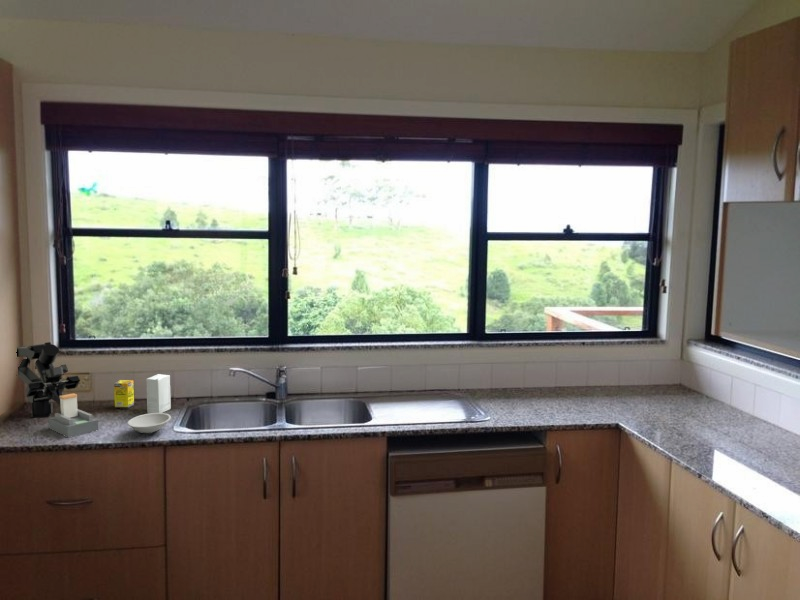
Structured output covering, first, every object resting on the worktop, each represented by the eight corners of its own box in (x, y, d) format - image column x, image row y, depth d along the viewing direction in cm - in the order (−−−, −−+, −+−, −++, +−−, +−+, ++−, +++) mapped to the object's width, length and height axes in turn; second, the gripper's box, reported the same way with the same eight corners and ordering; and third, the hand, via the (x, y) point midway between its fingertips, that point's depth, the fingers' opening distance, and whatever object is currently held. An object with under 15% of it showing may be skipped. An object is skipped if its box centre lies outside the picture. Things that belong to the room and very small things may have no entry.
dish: (158, 441, 229) (158, 427, 228) (119, 439, 229) (118, 426, 229) (178, 425, 246) (178, 413, 246) (142, 424, 247) (141, 412, 246)
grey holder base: (49, 428, 241) (48, 413, 240) (78, 421, 250) (78, 406, 249) (68, 437, 231) (67, 421, 230) (98, 430, 240) (97, 414, 239)
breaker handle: (60, 417, 241) (59, 395, 240) (74, 414, 245) (73, 393, 244) (64, 419, 239) (63, 397, 238) (78, 416, 243) (77, 394, 242)
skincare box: (159, 408, 270) (158, 373, 268) (171, 409, 268) (170, 374, 266) (146, 413, 262) (145, 378, 260) (159, 414, 260) (158, 379, 258)
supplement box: (128, 409, 268) (127, 383, 267) (114, 408, 268) (113, 383, 267) (134, 405, 274) (133, 380, 273) (120, 404, 274) (119, 379, 273)
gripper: (26, 362, 240) (40, 396, 234) (76, 355, 254) (91, 386, 249) (18, 379, 246) (32, 413, 240) (69, 371, 260) (82, 403, 255)
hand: (60, 403), depth 246 cm, fingers closed
